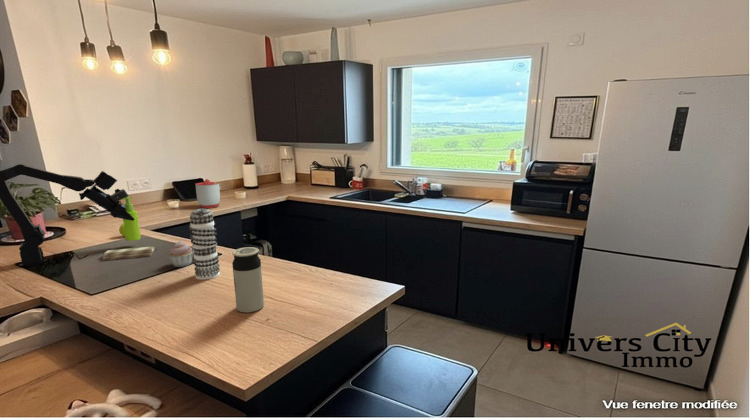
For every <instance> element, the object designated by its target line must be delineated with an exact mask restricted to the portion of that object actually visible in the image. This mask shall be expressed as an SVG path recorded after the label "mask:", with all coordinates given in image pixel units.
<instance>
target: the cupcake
mask: <svg viewBox="0 0 750 420" xmlns="http://www.w3.org/2000/svg"><path fill="white" fill-rule="evenodd" d="M168 257H169V258H170V260H171V262H172V264H173V266H174V267H176V268H184V267H188V266H191V264H192V259H193V257H194V250H193V247H192V246H190V245H189V244H188V243H184V242H183V241H182V240H179V241H176V243H174V244H173V247H172V248H171V249H170V253H169V254H168Z"/></svg>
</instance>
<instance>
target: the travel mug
mask: <svg viewBox="0 0 750 420" xmlns="http://www.w3.org/2000/svg"><path fill="white" fill-rule="evenodd" d="M259 251H260V249H259V248H258V247H252V246H251V247H250V246H249V247H248V246H247V247H239V248H237V249H234V250H233V251H232V252H231V254H232V256H233V260H232V263H231V264H232V273H233V274H232V276H233V285H234V294H235V295H234V297H235V306H236V310H237V311H238V312H241V313H245V314H246V313H253V312H256V311H259V310H261V309H262V308H263V307H264V306H265V301H264V299H265V298H264V286H263V273H262V262H261V258H260V256H259Z"/></svg>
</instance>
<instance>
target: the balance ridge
mask: <svg viewBox="0 0 750 420" xmlns="http://www.w3.org/2000/svg"><path fill="white" fill-rule="evenodd" d="M155 250H157V247H155V246H145V247H132V248H130V247H129V248H121V249H110V250H109V249H108V250H106V251H105V252H104V253H103V254H104V256H103V257H102V258H101V261H102V262H105V261H115V260H116V259H117V260H126V258H128V259H135V258H137V257H139V258H148V257H152V255H153V254H154V253H155V252H156V251H155Z"/></svg>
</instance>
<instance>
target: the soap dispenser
mask: <svg viewBox="0 0 750 420" xmlns="http://www.w3.org/2000/svg"><path fill="white" fill-rule="evenodd" d="M131 199H133V197H131V196H128V197H125V198H123V199H121V200H120V201H124V200H125V204H123V205H124V206H125V207H126V211H127V212H128V213H129V214H130V215H131V216H132V217H133V218H134V219H135V220H134V221H131V220H126V219H122V224H124V230H125V236H124V238H125V241H128V242H133V241H138V240H140V239H141V238H142V237H141V236H142V235H141V231H140V223H139V217H138V216H139V215H138V214H139V213H138V211H137V210H134V204H133V203H131Z"/></svg>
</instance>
